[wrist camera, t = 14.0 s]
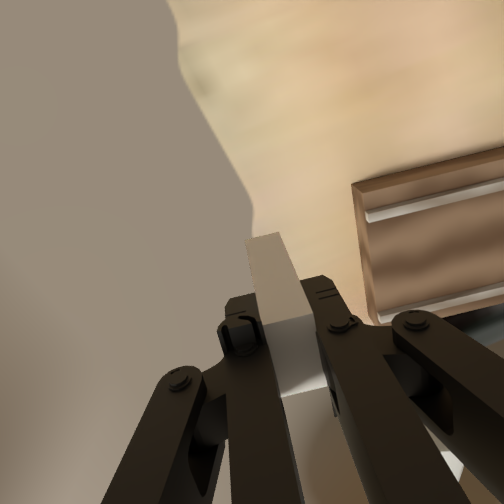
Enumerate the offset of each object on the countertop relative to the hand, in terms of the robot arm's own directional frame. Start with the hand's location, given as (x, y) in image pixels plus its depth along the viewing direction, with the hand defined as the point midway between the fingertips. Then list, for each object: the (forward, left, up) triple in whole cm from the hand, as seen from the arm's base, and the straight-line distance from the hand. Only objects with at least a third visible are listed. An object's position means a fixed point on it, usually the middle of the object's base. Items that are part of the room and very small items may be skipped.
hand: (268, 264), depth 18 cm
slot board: (+16, +22, -29) cm, 40 cm away
